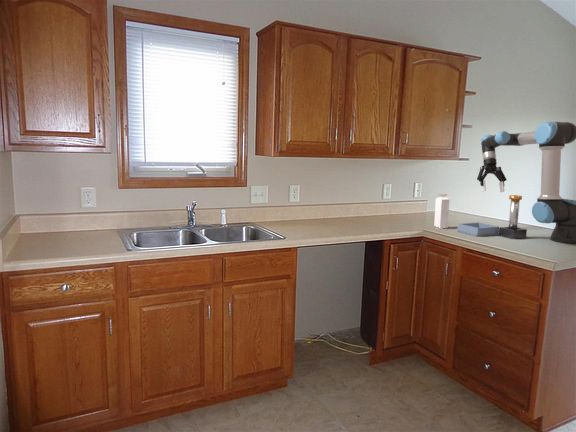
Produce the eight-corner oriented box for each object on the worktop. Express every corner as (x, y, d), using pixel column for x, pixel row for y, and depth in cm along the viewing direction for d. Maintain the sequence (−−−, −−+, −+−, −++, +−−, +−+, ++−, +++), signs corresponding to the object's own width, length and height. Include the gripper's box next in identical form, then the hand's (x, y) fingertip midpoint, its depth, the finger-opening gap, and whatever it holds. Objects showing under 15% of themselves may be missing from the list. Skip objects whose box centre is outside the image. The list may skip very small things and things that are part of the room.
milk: (447, 228, 270) (450, 194, 267) (439, 229, 268) (442, 194, 265) (441, 227, 276) (443, 193, 272) (433, 227, 274) (435, 193, 270)
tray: (498, 234, 250) (499, 226, 249) (477, 236, 244) (477, 228, 244) (477, 230, 265) (478, 222, 264) (457, 231, 259) (458, 223, 258)
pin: (521, 237, 242) (524, 196, 239) (512, 238, 240) (516, 196, 237) (511, 235, 248) (515, 195, 245) (503, 236, 246) (506, 195, 242)
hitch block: (526, 237, 241) (526, 229, 240) (512, 239, 238) (513, 230, 237) (511, 234, 251) (512, 226, 250) (498, 235, 247) (499, 227, 246)
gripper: (501, 162, 277) (505, 193, 273) (468, 160, 271) (472, 192, 267) (510, 158, 270) (514, 190, 266) (476, 156, 264) (480, 189, 260)
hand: (493, 191), depth 266 cm, fingers open, 13 cm apart
